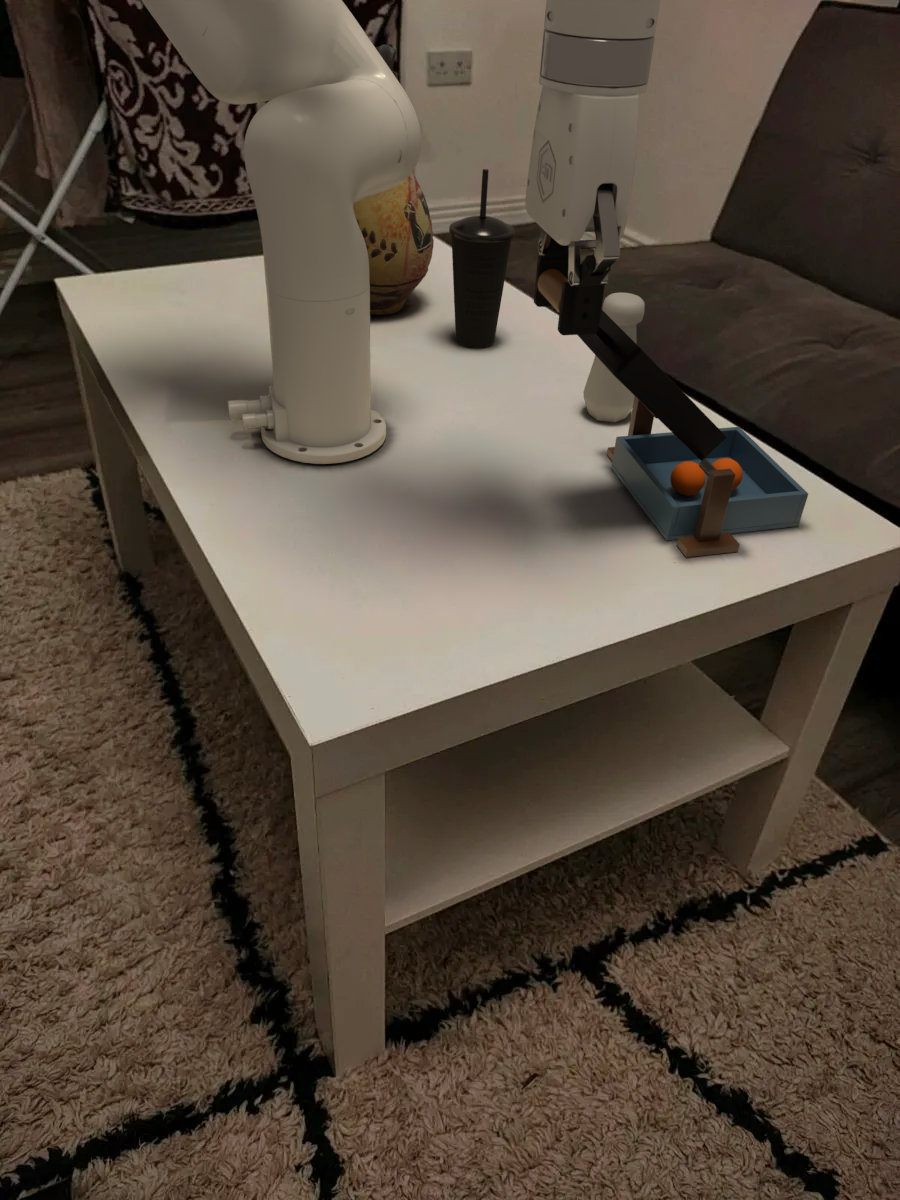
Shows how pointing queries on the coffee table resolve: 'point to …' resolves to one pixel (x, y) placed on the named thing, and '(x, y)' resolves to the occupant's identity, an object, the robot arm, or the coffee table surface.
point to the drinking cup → (479, 273)
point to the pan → (642, 376)
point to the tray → (751, 505)
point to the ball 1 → (687, 478)
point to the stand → (713, 501)
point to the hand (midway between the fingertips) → (564, 316)
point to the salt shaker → (602, 387)
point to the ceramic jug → (395, 235)
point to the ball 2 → (734, 466)
